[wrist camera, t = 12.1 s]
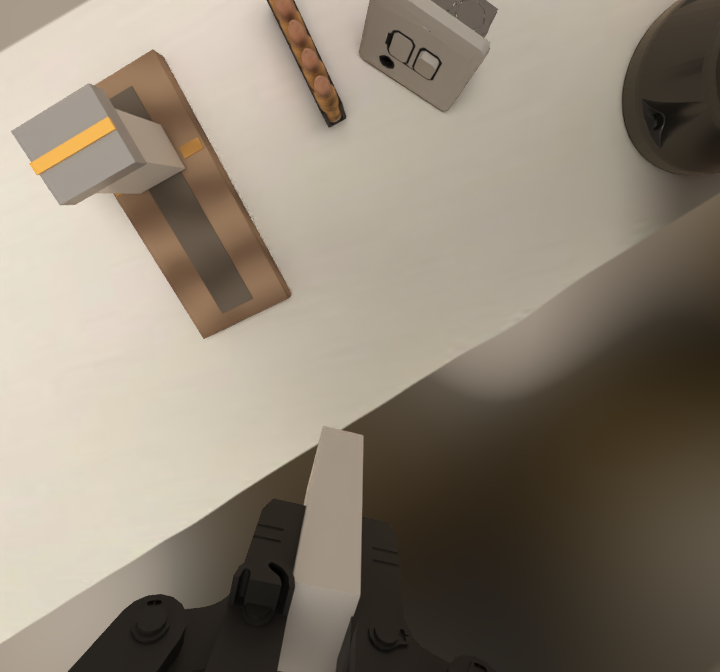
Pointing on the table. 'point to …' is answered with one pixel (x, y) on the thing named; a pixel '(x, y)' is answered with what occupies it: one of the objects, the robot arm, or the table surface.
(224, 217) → the fader console
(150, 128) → the fader tab
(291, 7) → the ammunition clip
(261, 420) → the table surface
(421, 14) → the electrical switch
